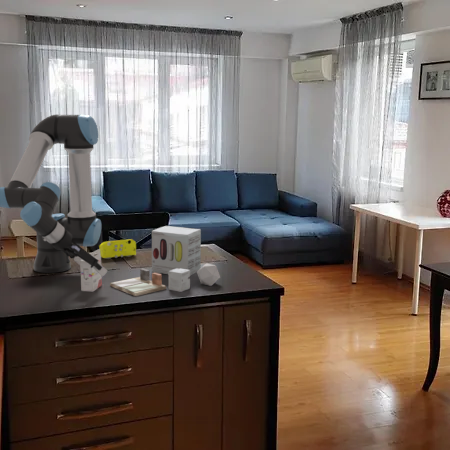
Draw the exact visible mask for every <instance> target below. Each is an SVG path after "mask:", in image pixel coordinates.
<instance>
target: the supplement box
mask: <svg viewBox="0 0 450 450" xmlns="http://www.w3.org/2000/svg"><path fill="white" fill-rule="evenodd" d="M201 233H202V230H201V228H193V227H192V228H190V227H183V226H181V227H180V226H171V225H165V226H160V227H158V228H156V229H154V230H151V273H155V272H156V273H159V274H164V275H169V271H171V270H173V269H177V268H181V269H187V270H190V277H191V276H192V275H194V274H197V271H198V270H199V269H200V268H201V267H202V265H201V262H202V260H201V259H202V257H201V256H202V255H201V254H202V253H201V252H202V251H201V247H202V244H201V243H202V241H201V240H202V239H201V238H202V234H201Z"/></svg>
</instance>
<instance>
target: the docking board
mask: <svg viewBox="0 0 450 450" xmlns="http://www.w3.org/2000/svg"><path fill="white" fill-rule="evenodd" d="M139 270H140V271H139V276H138V277H133V278H128V279H122V280H119V281H118V280H117V281H114V282H110V283H109V284H110V285H109V286H110V287H112V288H115V289H116V290H119V291H121V292H124V293H127V294H129V295H132V296H134V297H138V296H142V295H143V296H144V295H146V294H147V295H148V294H150V293H151V294H152V293H155V292H159V291H163V290H166V289H167V285H165V284H163V282H162V281H163V280H162V279H163V278H162V277H163V276H162V273H156V272H151V273H150V270H149V269H146V268H140V269H139ZM150 274H151V275H150ZM150 276H151V277H150ZM150 278H151V280H150Z"/></svg>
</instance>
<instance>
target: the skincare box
mask: <svg viewBox="0 0 450 450" xmlns="http://www.w3.org/2000/svg"><path fill="white" fill-rule="evenodd" d="M189 289H191V276H190V270H187V269H181V268H177V269H173V270H171V271H169V274H168V290H169V291H174V292H180V293H181V292H185V291H187V290H189Z"/></svg>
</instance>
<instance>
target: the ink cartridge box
mask: <svg viewBox="0 0 450 450" xmlns="http://www.w3.org/2000/svg"><path fill="white" fill-rule="evenodd" d="M90 255H92V256H93V257H94V258H96V259H97V260H98V262H99V263H100V264H101V265H102V257H101V254H100V249H97V250H94V251H93V252H91V253H90ZM79 267H80V287H81V288H80V289H81V292H94V291H96V290H98V289H99V288H100V287H101V286H103V285H102V284H103V283H102V279H103V278H102V277H103V276H102V275H100V274H99V273H98V272H97V271H96V270H95V269H94V268H91V265H90V264H89V263H87V262H86V261H84V260H81V261H80V265H79Z"/></svg>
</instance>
